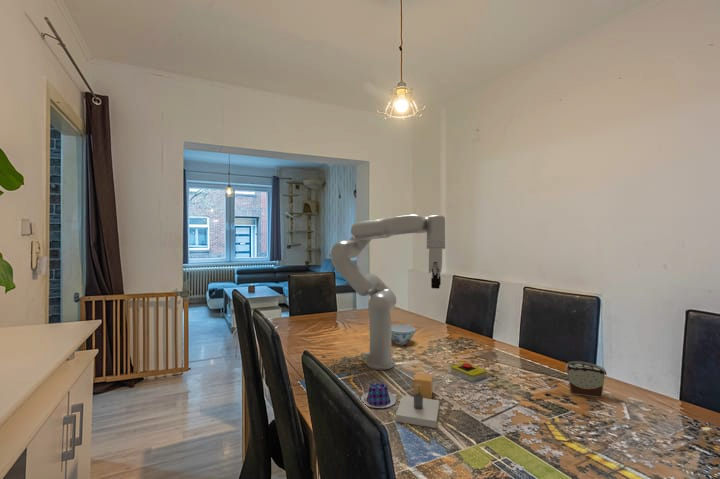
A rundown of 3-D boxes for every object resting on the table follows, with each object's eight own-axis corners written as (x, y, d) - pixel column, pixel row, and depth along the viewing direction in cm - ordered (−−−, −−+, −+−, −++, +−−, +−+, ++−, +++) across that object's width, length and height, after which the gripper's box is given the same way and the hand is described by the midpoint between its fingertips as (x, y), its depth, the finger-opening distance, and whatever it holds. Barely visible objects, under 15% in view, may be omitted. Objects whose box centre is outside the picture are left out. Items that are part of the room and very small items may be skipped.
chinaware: (381, 340, 179) (381, 326, 179) (405, 337, 185) (405, 323, 185) (396, 348, 165) (396, 333, 165) (420, 344, 172) (420, 329, 172)
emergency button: (462, 357, 141) (492, 369, 129) (462, 368, 141) (492, 380, 129) (447, 362, 136) (477, 374, 124) (447, 372, 136) (477, 386, 124)
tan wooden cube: (413, 396, 115) (413, 379, 115) (415, 389, 120) (415, 372, 120) (431, 398, 113) (431, 381, 113) (432, 391, 118) (432, 374, 118)
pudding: (390, 391, 119) (390, 377, 119) (400, 408, 107) (400, 392, 107) (358, 394, 117) (358, 379, 117) (364, 411, 105) (364, 395, 105)
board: (395, 421, 99) (395, 391, 99) (402, 401, 111) (402, 374, 111) (436, 428, 95) (436, 397, 95) (439, 406, 108) (439, 379, 108)
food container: (600, 390, 119) (600, 363, 119) (606, 398, 113) (606, 369, 113) (561, 385, 123) (561, 359, 123) (565, 392, 117) (565, 365, 117)
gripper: (428, 245, 145) (428, 283, 145) (424, 245, 128) (425, 289, 128) (445, 245, 143) (445, 284, 143) (444, 245, 126) (445, 290, 126)
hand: (436, 286), depth 135 cm, fingers open, 9 cm apart
